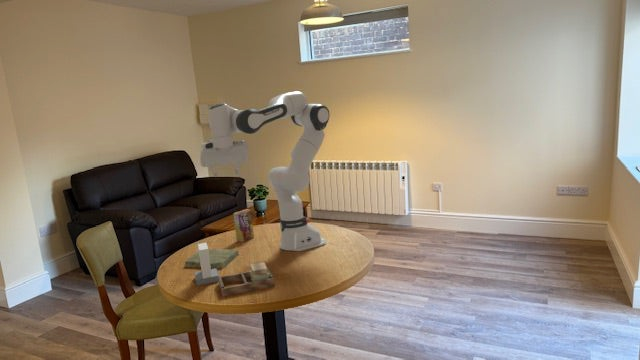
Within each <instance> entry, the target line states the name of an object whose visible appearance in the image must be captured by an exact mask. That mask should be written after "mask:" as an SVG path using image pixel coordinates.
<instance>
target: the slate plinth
mask: <svg viewBox="0 0 640 360" xmlns="http://www.w3.org/2000/svg"><path fill="white" fill-rule="evenodd" d="M217 269H218V268H212V269H211V273H212V277H208V278H203V276H202V271H201V270H200V271H195V272H194V277H195V284H196V287H198V286H202V285H208V284H213V283H219V281H218V277H220V276H219V273H218V271H217Z"/></svg>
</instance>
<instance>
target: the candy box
mask: <svg viewBox="0 0 640 360" xmlns="http://www.w3.org/2000/svg"><path fill="white" fill-rule="evenodd" d="M232 216H233V221H234V228H235V229H234V230H235V235H236V241H237V242H240V243H243V242H245V241H248V240H250V239H253V238H255V233H254V232H255V231H254V227H253V226H254V225H253V219H252V211H251V209H247V208H246V209H242V210H240V211H235V212H234V213H233V214H232Z"/></svg>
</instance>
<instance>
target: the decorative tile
mask: <svg viewBox="0 0 640 360" xmlns="http://www.w3.org/2000/svg"><path fill="white" fill-rule="evenodd" d="M208 250H209V258H210V266H211V268H212V269H215V268H216V269H219V268H221V269H224V268H226V267H227V266H228V265H229V264H230V263H232V262H233V261H234V260H235V259H236V258H237V257H238V256H239V253H240V252H239V249H223V248H222V249H215V248H214V249H208ZM183 267H184V268H185V267H191V268H196V267H201V264H200V257H199V250H198V251H196V252H195V253H194V254H192V255H191V256H190V257H188V258H187V259H186V260H185V261H184V266H183Z"/></svg>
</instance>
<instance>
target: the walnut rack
mask: <svg viewBox="0 0 640 360" xmlns="http://www.w3.org/2000/svg"><path fill="white" fill-rule="evenodd" d="M267 272H268V273H269V277H270V279H265V280H260V281H255V282H252V281H251V282H248V281H247V280H251V277H250V270H247V271H243V272H238V273H233V274H228V275H223V276H219V277H218V286H219V289H220V291H221V295H222V297H228V296H232V295H237V294H238V295H239V294H243V293H247V292H248V293H249V292H251V291H257V290H262V289H266V288H271V287H275V278H274V276H273V274H272V272H271V271H270V269H269V268H268V267H267ZM235 282H236V283H238V282H242V284H236V285H231V286H227V287H226V286H225V285H226V284H231V283H235Z"/></svg>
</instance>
